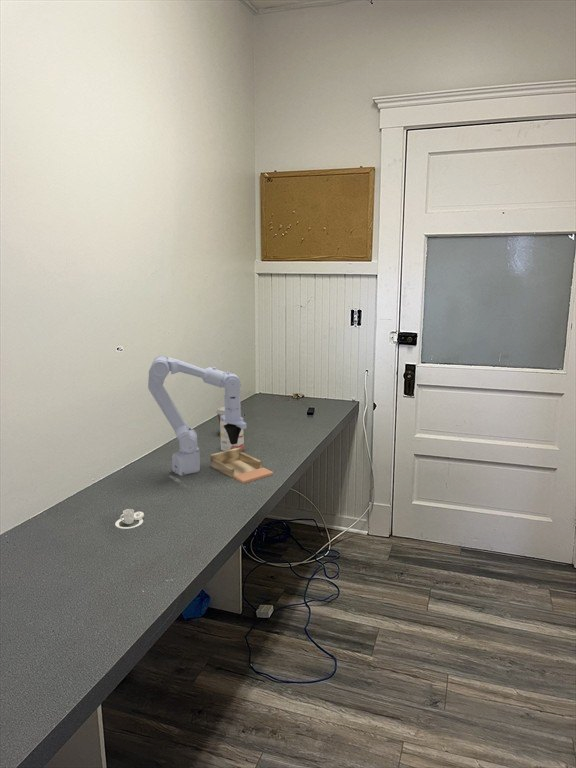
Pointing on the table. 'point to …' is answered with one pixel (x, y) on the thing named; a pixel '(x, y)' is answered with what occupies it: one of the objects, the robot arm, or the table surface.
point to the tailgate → (253, 475)
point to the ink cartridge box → (226, 442)
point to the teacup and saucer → (130, 518)
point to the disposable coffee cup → (220, 412)
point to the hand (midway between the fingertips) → (233, 443)
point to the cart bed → (234, 462)
